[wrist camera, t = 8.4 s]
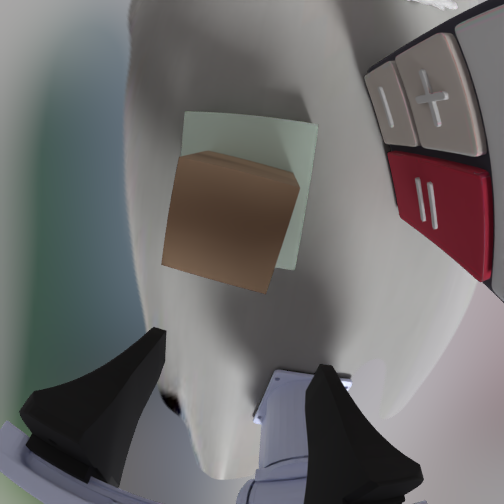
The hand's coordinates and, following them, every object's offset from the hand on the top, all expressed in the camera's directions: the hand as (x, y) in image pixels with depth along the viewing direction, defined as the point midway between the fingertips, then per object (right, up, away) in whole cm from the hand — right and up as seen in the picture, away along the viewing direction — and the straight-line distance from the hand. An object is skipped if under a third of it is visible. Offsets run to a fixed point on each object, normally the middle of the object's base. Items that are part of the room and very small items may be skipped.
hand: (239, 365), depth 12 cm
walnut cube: (0, +8, +4) cm, 9 cm away
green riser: (0, +10, +7) cm, 12 cm away
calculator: (+11, +13, +4) cm, 17 cm away
